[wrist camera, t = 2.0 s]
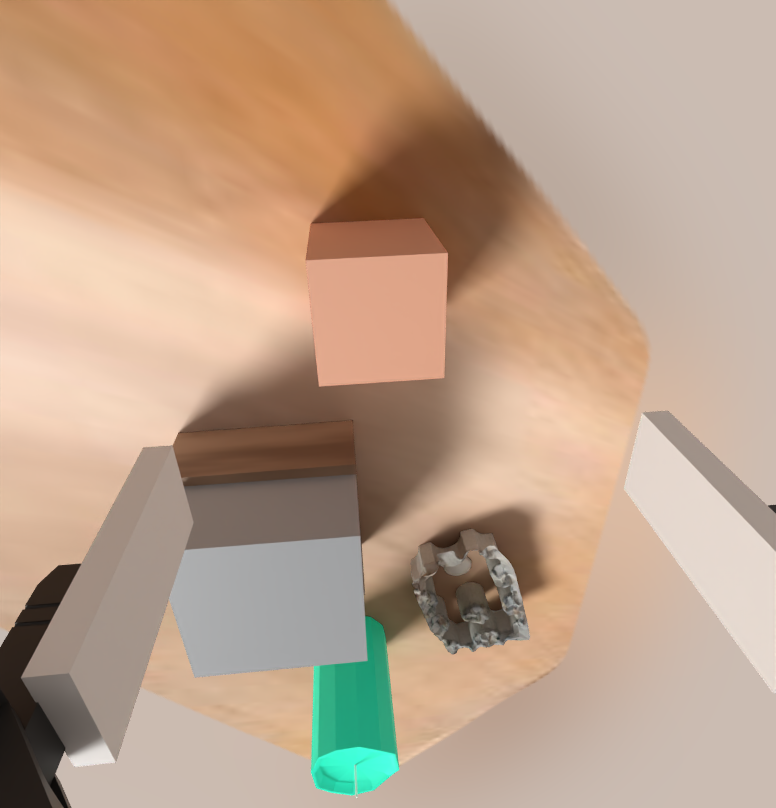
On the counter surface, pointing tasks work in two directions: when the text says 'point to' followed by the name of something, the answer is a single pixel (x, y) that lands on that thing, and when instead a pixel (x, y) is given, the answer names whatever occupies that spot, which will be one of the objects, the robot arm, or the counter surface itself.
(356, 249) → the terracotta block
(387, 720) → the candle
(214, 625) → the gray tower middle block
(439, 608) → the egg carton
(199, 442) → the tower base
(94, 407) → the counter surface
